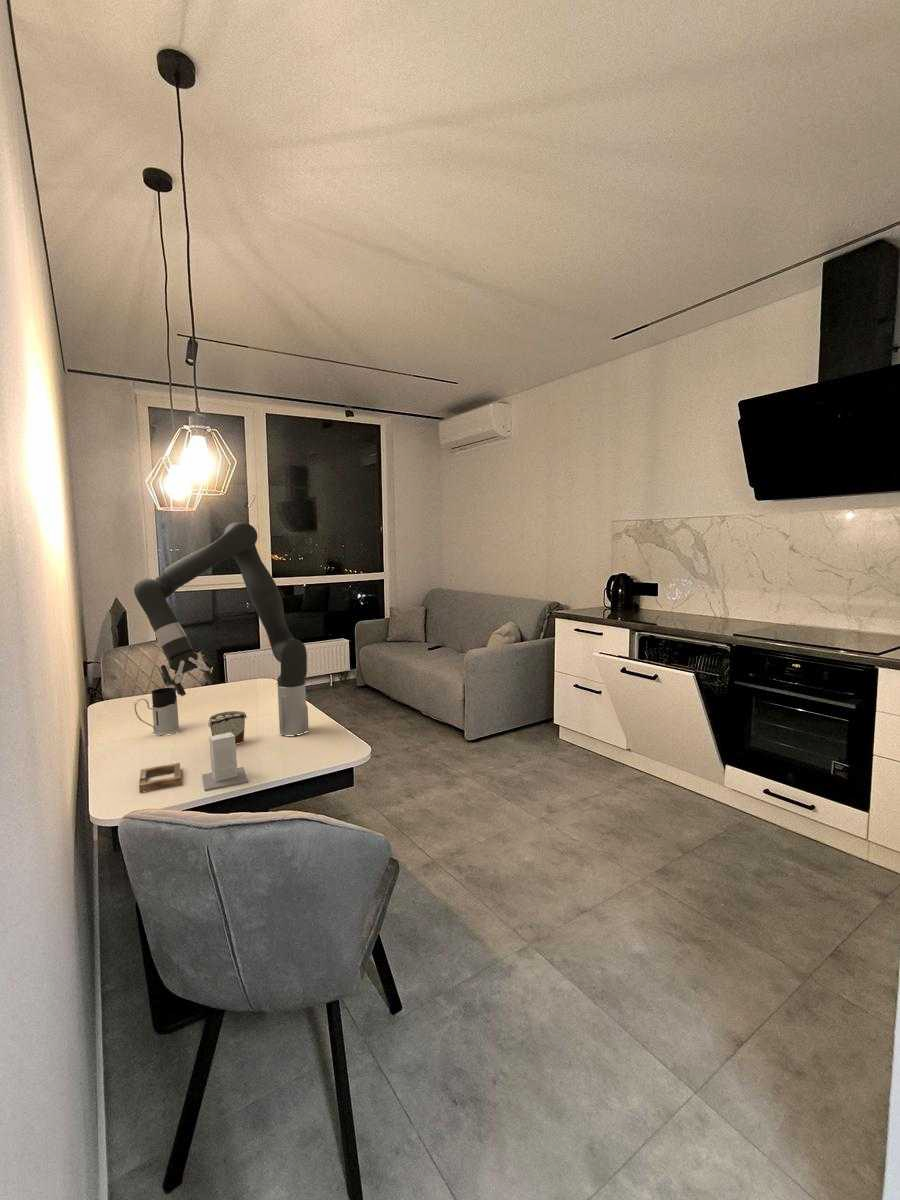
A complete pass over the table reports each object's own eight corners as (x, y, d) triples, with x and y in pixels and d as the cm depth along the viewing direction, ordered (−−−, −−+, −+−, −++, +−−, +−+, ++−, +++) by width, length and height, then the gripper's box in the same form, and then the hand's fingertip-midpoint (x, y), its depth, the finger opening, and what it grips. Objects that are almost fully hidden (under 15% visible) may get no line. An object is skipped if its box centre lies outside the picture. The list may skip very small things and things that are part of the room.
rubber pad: (243, 768, 162) (243, 766, 162) (248, 782, 152) (248, 780, 152) (202, 776, 157) (202, 774, 157) (204, 791, 147) (204, 789, 147)
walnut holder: (180, 769, 162) (179, 761, 162) (181, 784, 152) (180, 776, 151) (141, 776, 158) (140, 767, 157) (139, 792, 147) (138, 783, 147)
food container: (240, 736, 189) (238, 708, 188) (248, 741, 185) (246, 712, 184) (203, 746, 181) (201, 716, 180) (210, 751, 176) (208, 720, 175)
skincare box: (233, 771, 158) (231, 731, 157) (237, 776, 155) (235, 735, 154) (211, 777, 155) (208, 736, 154) (215, 782, 151) (212, 740, 150)
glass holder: (184, 731, 196) (182, 689, 194) (142, 742, 185) (139, 698, 183) (173, 726, 201) (170, 685, 200) (131, 736, 190) (128, 694, 189)
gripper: (153, 645, 157) (178, 696, 157) (200, 629, 168) (224, 676, 167) (145, 653, 162) (170, 702, 162) (192, 636, 173) (215, 683, 172)
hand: (197, 689), depth 164 cm, fingers open, 8 cm apart
